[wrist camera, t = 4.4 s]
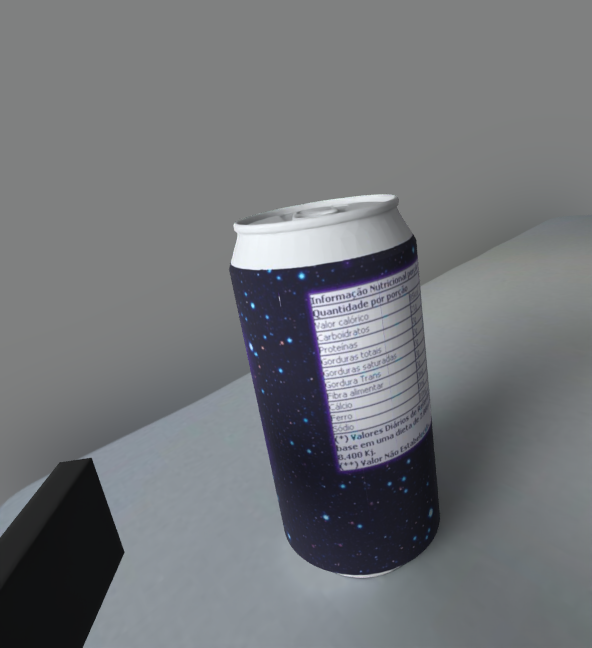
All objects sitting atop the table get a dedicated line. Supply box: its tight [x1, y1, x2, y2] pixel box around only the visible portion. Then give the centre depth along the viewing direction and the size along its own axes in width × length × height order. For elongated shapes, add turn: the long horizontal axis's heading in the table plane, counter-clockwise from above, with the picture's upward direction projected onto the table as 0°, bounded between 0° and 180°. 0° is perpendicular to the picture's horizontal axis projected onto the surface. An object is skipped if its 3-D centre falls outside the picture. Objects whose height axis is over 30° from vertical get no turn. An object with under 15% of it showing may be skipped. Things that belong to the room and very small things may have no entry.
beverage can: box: [229, 194, 440, 578], centre depth 16 cm, size 6×6×12 cm
